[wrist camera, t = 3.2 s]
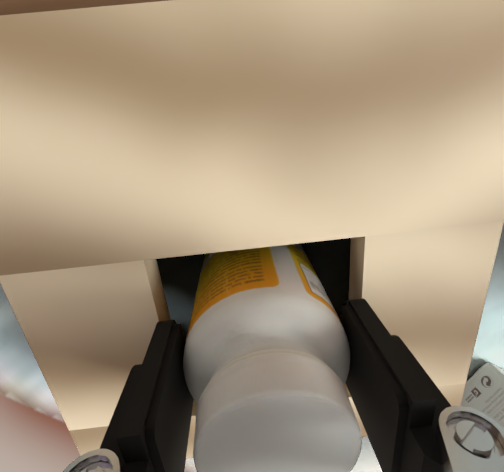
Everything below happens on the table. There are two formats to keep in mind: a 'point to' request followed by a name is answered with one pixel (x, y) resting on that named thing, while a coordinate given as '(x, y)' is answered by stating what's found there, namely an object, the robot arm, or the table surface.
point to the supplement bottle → (268, 367)
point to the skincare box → (486, 392)
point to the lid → (244, 167)
